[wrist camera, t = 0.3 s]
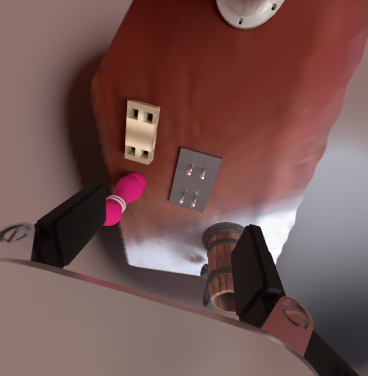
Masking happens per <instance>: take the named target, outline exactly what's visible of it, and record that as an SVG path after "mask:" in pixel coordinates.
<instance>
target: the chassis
mask: <svg viewBox="0 0 368 376" xmlns="http://www.w3.org/2000/svg"><path fill="white" fill-rule="evenodd" d="M221 161H222V158H220V157H217V156H213V155H210V154H206V153H202V152H199V151H195V150H192V149H188V148H184V147H181V150H180V155H179V159H178V164H177V168H176V173H175V177H174V182H173V186H172V190H171V195H170V199H169V203H172V204H175V205H179V206H182V207H186V208H189V209H193V210H196V211H200V212H203V210H204V207H205V205H206V202H207V199H208V197H209V194H210V191H211V188H212V186H213V183H214V180H215V178H216V175H217V172H218V169H219V167H220V164H221Z"/></svg>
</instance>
